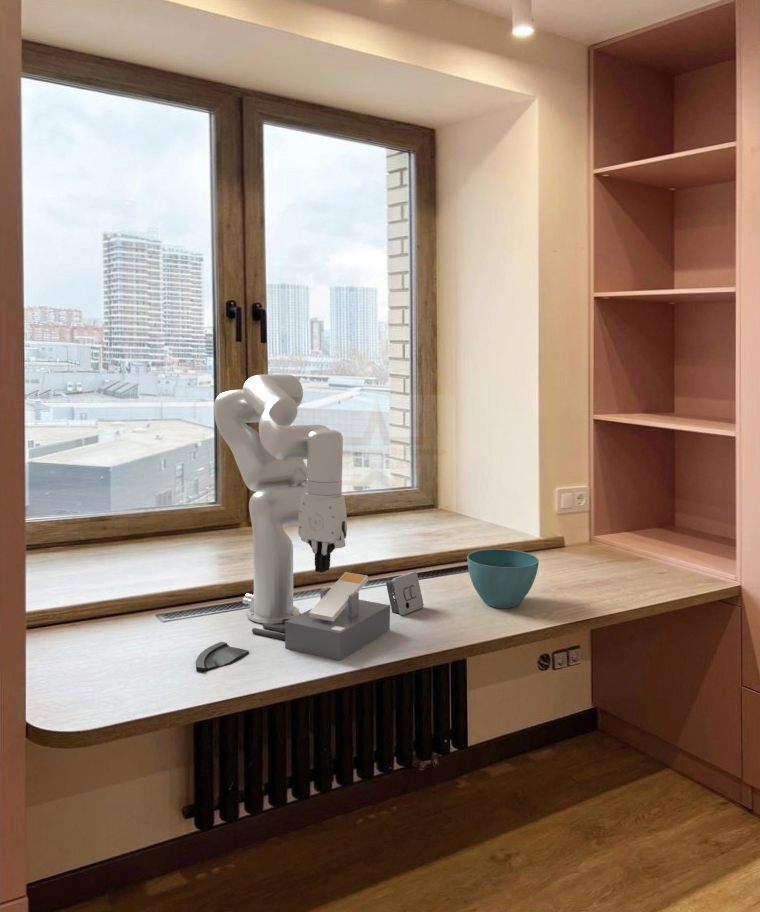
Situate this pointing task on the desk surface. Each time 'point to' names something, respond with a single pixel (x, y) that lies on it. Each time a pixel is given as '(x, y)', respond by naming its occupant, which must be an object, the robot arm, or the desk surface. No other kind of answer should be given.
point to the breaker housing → (338, 629)
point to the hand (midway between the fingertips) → (322, 570)
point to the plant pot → (502, 575)
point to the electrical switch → (405, 593)
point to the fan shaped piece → (218, 656)
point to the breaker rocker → (338, 596)
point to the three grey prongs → (272, 627)
